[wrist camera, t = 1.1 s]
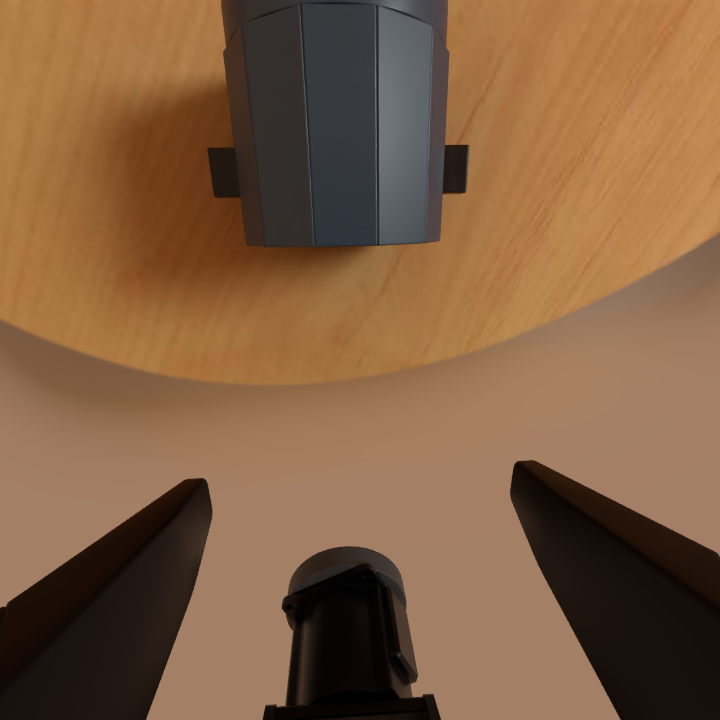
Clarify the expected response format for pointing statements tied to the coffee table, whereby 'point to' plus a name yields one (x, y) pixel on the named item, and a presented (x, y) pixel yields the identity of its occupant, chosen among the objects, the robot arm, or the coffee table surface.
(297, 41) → the pot
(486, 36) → the coffee table surface
